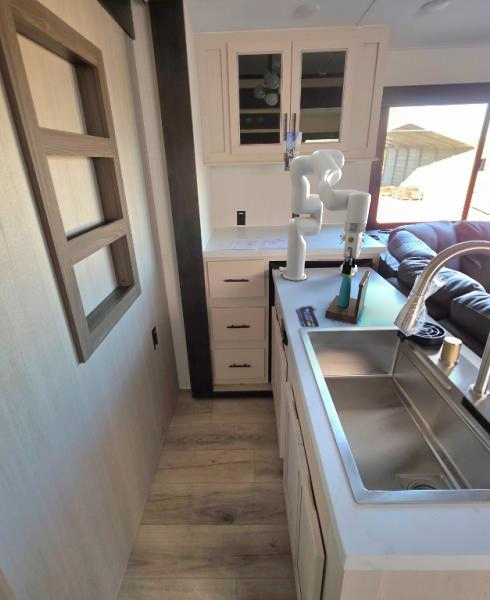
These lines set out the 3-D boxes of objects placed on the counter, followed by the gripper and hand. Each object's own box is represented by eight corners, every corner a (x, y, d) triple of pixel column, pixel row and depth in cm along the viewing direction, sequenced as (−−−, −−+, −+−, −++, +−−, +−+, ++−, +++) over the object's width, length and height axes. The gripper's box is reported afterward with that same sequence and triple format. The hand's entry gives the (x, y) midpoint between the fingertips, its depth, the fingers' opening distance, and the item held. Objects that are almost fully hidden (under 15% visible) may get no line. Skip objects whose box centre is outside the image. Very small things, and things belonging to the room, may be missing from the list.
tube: (349, 309, 126) (356, 263, 118) (336, 307, 127) (343, 262, 120) (349, 301, 133) (355, 257, 125) (337, 300, 134) (343, 256, 126)
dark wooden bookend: (325, 317, 126) (329, 279, 120) (335, 301, 141) (340, 266, 134) (356, 324, 121) (363, 285, 114) (364, 306, 135) (370, 271, 129)
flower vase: (353, 269, 182) (359, 225, 172) (364, 280, 165) (372, 232, 155) (330, 269, 183) (336, 225, 172) (339, 280, 166) (345, 232, 156)
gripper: (361, 232, 108) (354, 278, 115) (369, 224, 122) (362, 266, 129) (339, 230, 112) (333, 275, 119) (349, 222, 126) (343, 263, 133)
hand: (348, 270), depth 124 cm, fingers open, 9 cm apart
